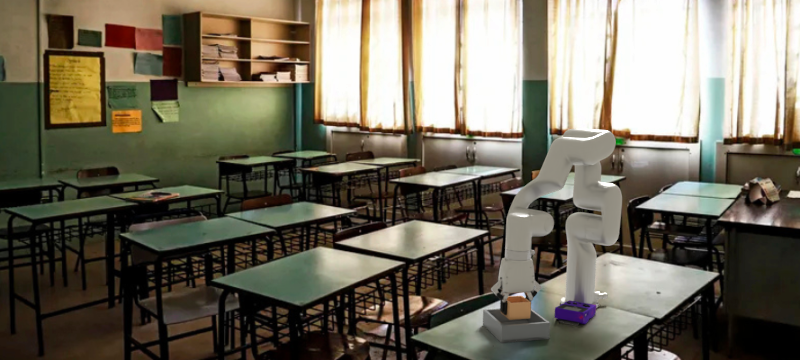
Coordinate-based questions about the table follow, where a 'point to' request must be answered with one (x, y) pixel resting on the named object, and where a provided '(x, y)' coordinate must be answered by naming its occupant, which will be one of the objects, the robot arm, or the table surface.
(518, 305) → the orange crate
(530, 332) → the grey square tray
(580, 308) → the handheld gaming console
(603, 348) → the table surface
